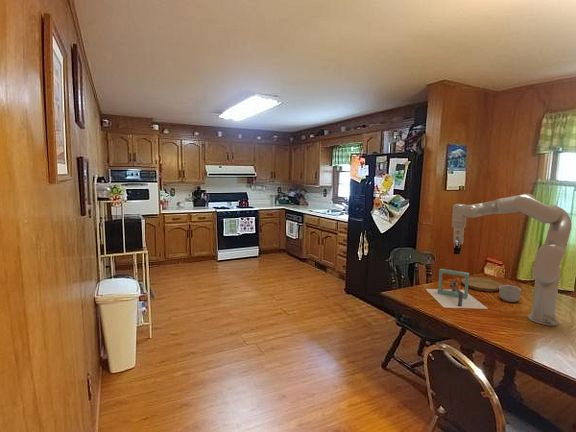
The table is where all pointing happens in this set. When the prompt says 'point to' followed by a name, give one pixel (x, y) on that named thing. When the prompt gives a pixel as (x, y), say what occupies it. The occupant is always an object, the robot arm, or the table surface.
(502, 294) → the teacup
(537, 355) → the table surface
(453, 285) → the dark hinged linkage
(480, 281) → the plant saucer
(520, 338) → the table surface
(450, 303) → the base board
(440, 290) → the teal rectangular frame
